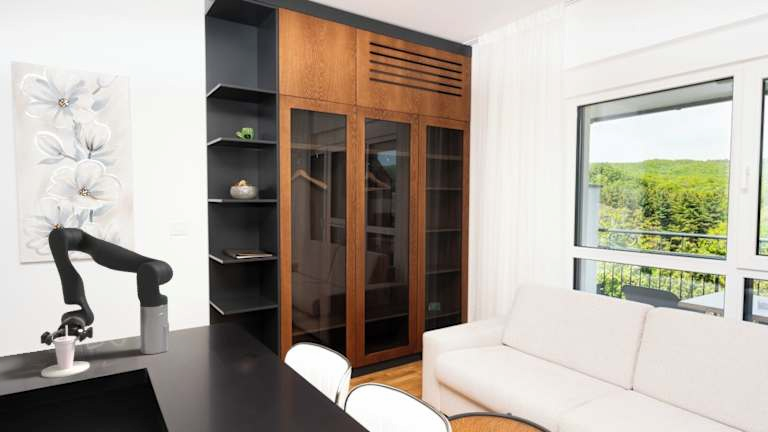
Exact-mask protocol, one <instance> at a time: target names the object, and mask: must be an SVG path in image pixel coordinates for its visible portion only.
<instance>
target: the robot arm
mask: <svg viewBox="0 0 768 432" xmlns="http://www.w3.org/2000/svg"><path fill="white" fill-rule="evenodd" d="M47 238H48V239H47V241H48V246H49V250H50V253H51V256H52V258H53V262H54V264H55V266H56V269H57V272H58V275H59V279H60V283H61V285H60V286H61V289H62V296H63V297H62V299H63V302H64V304H65V305H67V306H68V305H69V306H71V305H72V306H73V305H74V306H75V305H76V306H79V307H80V309H75V310H74V309H73V310H70V311H66V312H64V313H63V314H62V316H61V319H60V322H61V324H59V326H58V328H57V330H55V331H53V332H52V333H51V332H50V331H45V332H43V333H42V334H41V335H40V344H45V345H47V346H52V344H53V340H54V339H56V338H59V337H65V336H66V328H65V326H66V325H68V336H76V337H77V340H76V341H78V342H79V343H81V342H83V341H85V340H86V339H87V338H88V339H92V338H93V337H94V336H93V335H94V331H93V329H94V327H93V326H91V325H93V323H94V322H95V315H94V313H93V311H92V308H91V307H90V304H89V303H88V300H87V297H86V290H85V286H84V281H83V279H82V278H83V277H82V276H81V275H80V274H81V273H79V272H78V270H77V269H76V267H74V265H73V263H72V262H71V258H70V256H69V252H80V253H83V254H86V255H88V256H90V257H91V259H92V260H93V261H94V262H95V263H96V264H97V265H99V266H101V267H104V268H106V269H108V270H112V271H116V272H117V271H118V272H122V273H123V272H124V273H133V274H136V277H135V278H136V289H137V290H136V292H137V299H138V300H139V320H140V321H139V323H140V324H139V325H140V327H139V328H140V329H139V330H140V331H139V333H140V334H139V336H140V337H139V339H140V341H139V342H140V349H139V350H140V353H141V354H143V355H153V354H154V355H155V354H159V353H166V352H168V350H169V348H170V323H169V318H168V317H169V304H168V303H169V302H168V296H167V295H165V294H162V293H161V291H160V286H162V285H163V286H164V285H165V284H167V283H169V282H170V281H171V280H172V279H173V276H174V271H173V268H172V266H171V265H170V264H169V263H168V262H166V261H165V260H161V259H157V258H152V257H149V256H145V255H142V254H140V253H138V252H135V251H133V250H130V249H128V248H125V247H123V246H121V245H118V244H115V243H113V242H109V241H107V240H104V239H101V238H98V237H96V236H93V235H92V234H89V233H87V232H86V231H84V230H82V229H80V228H77V227H56V228H53V229H52V230H51V231H50V232H49V233H48V237H47ZM89 326H90V327H89ZM86 327H88V328H86Z"/></svg>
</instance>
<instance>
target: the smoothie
mask: <svg viewBox="0 0 768 432" xmlns="http://www.w3.org/2000/svg"><path fill="white" fill-rule="evenodd" d="M65 328H66V336H65V337H59V338H56V339H54V340H53V342H52V344H53V345H54V350H55V356H56V361H57V364H58V368H59V370H66V369H70V368H72V366H73V362H74V358H75V356H74V355H75V349H76V342H77V341H78V340H77V337H76V336H68V325H66V326H65Z"/></svg>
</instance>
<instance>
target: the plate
mask: <svg viewBox="0 0 768 432" xmlns="http://www.w3.org/2000/svg"><path fill="white" fill-rule="evenodd" d="M90 366H91V365H90V362H88V361H77V360H74V361H73V366H72V368H70V369H66V370H59V368H58V363H55V364H54V365H50V366H48V367H46V368H44V369H42V370H41V371H40V373H41V374H40V375H41V377H43V378H49V379H51V378H52V379H53V378H54V379H55V378H56V379H58V378H63V377H70V376H74V375H77V374H81V373H84V372H85V371H88V370H89V369H90Z"/></svg>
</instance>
